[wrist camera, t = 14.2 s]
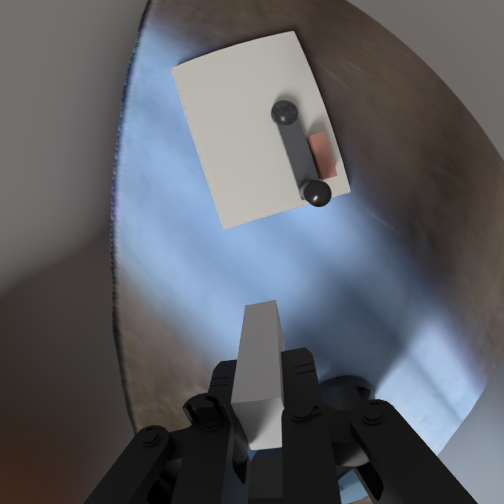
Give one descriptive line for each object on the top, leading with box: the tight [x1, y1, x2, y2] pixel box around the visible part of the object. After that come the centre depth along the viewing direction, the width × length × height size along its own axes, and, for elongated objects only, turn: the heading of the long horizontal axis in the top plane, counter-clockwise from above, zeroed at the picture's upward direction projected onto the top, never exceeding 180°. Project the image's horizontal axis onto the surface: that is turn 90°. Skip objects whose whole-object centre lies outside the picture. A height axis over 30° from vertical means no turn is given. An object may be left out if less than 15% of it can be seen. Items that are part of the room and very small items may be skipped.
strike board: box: [171, 31, 351, 229], centre depth 36 cm, size 26×19×5 cm
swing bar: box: [271, 100, 332, 207], centre depth 33 cm, size 14×4×8 cm, turn 19°
